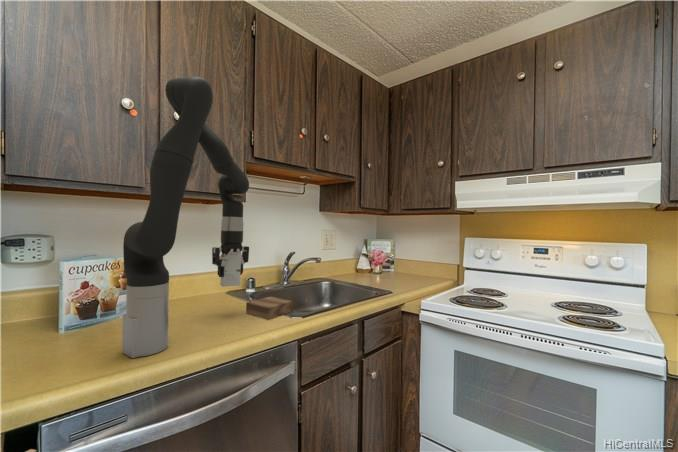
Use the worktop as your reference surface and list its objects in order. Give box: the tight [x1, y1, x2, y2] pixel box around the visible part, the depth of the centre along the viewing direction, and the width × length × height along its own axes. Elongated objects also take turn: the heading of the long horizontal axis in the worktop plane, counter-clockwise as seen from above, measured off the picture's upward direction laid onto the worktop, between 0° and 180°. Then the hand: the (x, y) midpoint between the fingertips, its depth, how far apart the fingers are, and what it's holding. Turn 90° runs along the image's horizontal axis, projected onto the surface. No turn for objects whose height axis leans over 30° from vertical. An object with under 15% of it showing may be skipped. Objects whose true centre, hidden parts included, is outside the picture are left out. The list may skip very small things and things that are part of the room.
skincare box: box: [219, 251, 242, 288], centre depth 104 cm, size 6×4×12 cm
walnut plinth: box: [245, 295, 294, 320], centre depth 109 cm, size 12×12×4 cm
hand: (230, 275), depth 104 cm, fingers closed on skincare box, 7 cm apart
